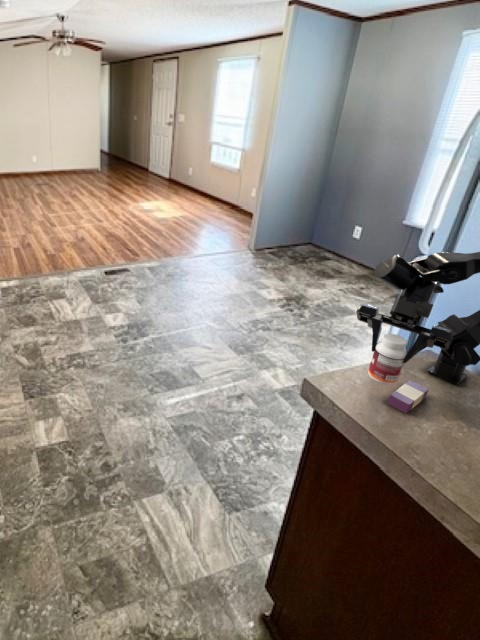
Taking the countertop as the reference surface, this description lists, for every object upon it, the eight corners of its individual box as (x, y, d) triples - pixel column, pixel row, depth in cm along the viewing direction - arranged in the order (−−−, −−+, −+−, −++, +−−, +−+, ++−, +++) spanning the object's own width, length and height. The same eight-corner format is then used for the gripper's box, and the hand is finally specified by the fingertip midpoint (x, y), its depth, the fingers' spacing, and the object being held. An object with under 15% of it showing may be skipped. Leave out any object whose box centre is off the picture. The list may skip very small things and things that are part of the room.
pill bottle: (373, 366, 106) (385, 328, 102) (401, 378, 102) (415, 339, 97) (363, 376, 102) (375, 337, 98) (391, 389, 98) (405, 349, 94)
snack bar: (406, 388, 103) (409, 380, 102) (425, 397, 100) (428, 389, 99) (386, 403, 98) (390, 394, 97) (406, 413, 95) (409, 404, 94)
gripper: (369, 273, 101) (342, 329, 99) (468, 299, 89) (440, 363, 86) (370, 292, 109) (345, 345, 107) (461, 318, 97) (435, 378, 94)
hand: (387, 356), depth 98 cm, fingers closed on pill bottle, 6 cm apart
